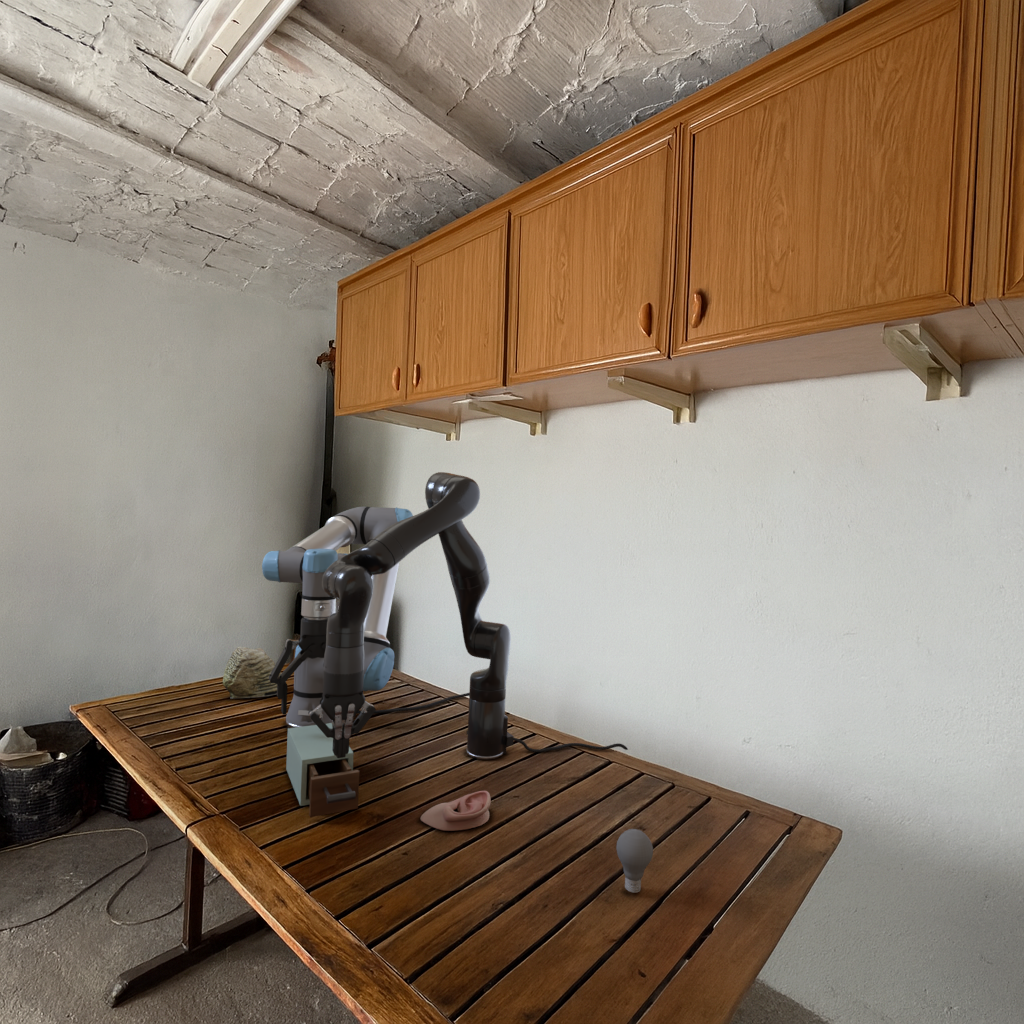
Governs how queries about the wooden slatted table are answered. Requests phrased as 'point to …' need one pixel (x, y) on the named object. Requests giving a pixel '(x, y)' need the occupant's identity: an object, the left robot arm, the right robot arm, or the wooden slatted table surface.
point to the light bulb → (634, 857)
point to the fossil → (249, 674)
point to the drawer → (331, 787)
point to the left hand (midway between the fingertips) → (314, 709)
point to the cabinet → (308, 756)
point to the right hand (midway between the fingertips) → (340, 756)
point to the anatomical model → (459, 812)
